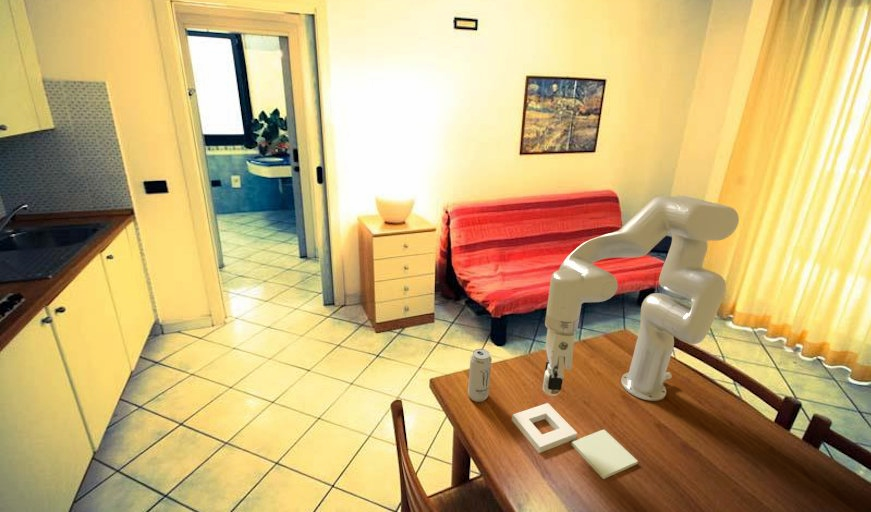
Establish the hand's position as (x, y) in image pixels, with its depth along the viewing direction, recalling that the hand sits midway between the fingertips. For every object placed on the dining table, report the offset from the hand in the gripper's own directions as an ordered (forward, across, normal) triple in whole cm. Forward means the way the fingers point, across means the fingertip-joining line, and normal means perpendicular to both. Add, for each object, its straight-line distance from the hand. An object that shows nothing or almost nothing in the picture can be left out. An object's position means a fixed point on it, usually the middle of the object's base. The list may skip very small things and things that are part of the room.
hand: (552, 381), depth 104 cm
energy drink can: (+16, +10, +18) cm, 26 cm away
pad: (+16, -7, -13) cm, 22 cm away
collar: (+16, 0, +1) cm, 16 cm away
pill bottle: (+3, 0, 0) cm, 3 cm away
